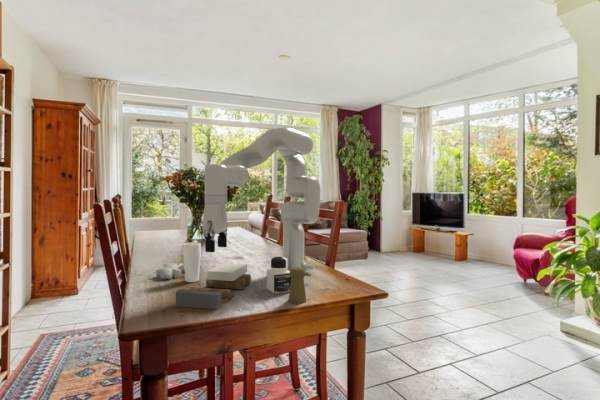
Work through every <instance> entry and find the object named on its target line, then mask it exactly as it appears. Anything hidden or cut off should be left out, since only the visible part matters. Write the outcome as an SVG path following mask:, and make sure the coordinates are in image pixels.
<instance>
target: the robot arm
mask: <svg viewBox="0 0 600 400" xmlns="http://www.w3.org/2000/svg"><path fill="white" fill-rule="evenodd" d="M313 148H314V142H313V139H312V138H311V136H310V135H308V134H307V133H305V132H302V131H299V130H298V129H294V128H292V127H291V128H290V127H285V126H284V127H277V128H270V129H268V130H266V131H265V132H263V133H262V134H261V135H260V136H258V138H257V139H255V140H254V141H252V143H251V144H250V145H248V146H246V147H243V148H242V149H240V150H239V151H237V152H234V153H233V154H231V155H229V156H227V157H226V158H225V159H224V160H222V161H221V162H220V163H218V164H217V163H215V164H214V163H211V164H206V165H205V167H204V209H203V221H202V232H203V237H204V239H203V240H204V246H205V248H204V249H205V252H206V253H215V252H216V245H215V244H216V242H215V241H216V240H215V236H216V235H217V234H218V235H217V247H218V248H227V246H228V244H227V243H228V242H227V237H228V233H227V231H228V225H229V223H228V215H227V213H228V211H227V205H228V186H229V187H231V186H239V187H240V186H243V185H245V184H246V183H247V182H248V180H249V178H250V173H249V170H248V169H250V168H254V167H257V166H259V165H262V164H263V163H265V162H266V161H267V160H269V158H270V157H272V155H273V154H275V153H276V151H278V153H279V154H280V155H281V156H282V158H283V160H284V161H285V164H286V182H285V184H286V185H285V193H286V195H287V196H288V197H289V198H293V199H303V201H301V200H300V201H299V200H289V201H286V202H284V203H283V205H282V206H281V209H280V216H281V222H282V257H285V258H287V259H288V269H287V270H288V271H290V270H291V269H292V268H294V267H301V268H304V270H305V274H307V273H308V272H309V271H308V270H315V268H314V267H315V265H314V264H310V263H309V264H308V263H307V261H306V260H305V229H304V227H303V225H304V224H306V225H312V224H315V223H316V222H317V221H318V219H319V215H320V208H321V207H320V206H321V185H320V184H321V183H320V182H319V179H318V178H316V177H315V176H310V175H308V176H307V175H306V174H307V172H306V171H307V166H306V161H305V160H304V159H303V156H305V155H306V156H307V155H309V154H310V153H311V152H312V150H313Z"/></svg>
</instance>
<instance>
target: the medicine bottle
mask: <svg viewBox="0 0 600 400" xmlns="http://www.w3.org/2000/svg"><path fill="white" fill-rule="evenodd" d="M287 269H288V259H287V258H285V257H283V256H275V257H272V258H271V259H270V269H267V270H266V290H268V291H270V292H271V293H272V294H274V295H276V294H282V293H289V292H290V285H291V276H290V271H288V270H287Z"/></svg>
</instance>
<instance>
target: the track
mask: <svg viewBox="0 0 600 400" xmlns="http://www.w3.org/2000/svg"><path fill="white" fill-rule="evenodd" d="M251 282H252V275H251V274H250V273H249V274H247V273H245V274H243V275H242V276H240V277H239V278H237V279H236V280H234V281H223V280H208V279H207V278H206V280H205V285H206V288H214V289H228V290H232V289H233V290H244V289H245V287H246V286H250V284H251ZM234 297H235V293H232V298H234ZM228 302H229V301H228V299H226V298H222V303H228Z"/></svg>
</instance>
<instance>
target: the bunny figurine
mask: <svg viewBox="0 0 600 400" xmlns="http://www.w3.org/2000/svg"><path fill="white" fill-rule="evenodd" d="M180 268H184V263H165V264H164V267H161V268H158V269H157V270H155V272H156V274H155V275H156V277H159V278H160V280H173V277H178V276H181V269H180Z"/></svg>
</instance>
